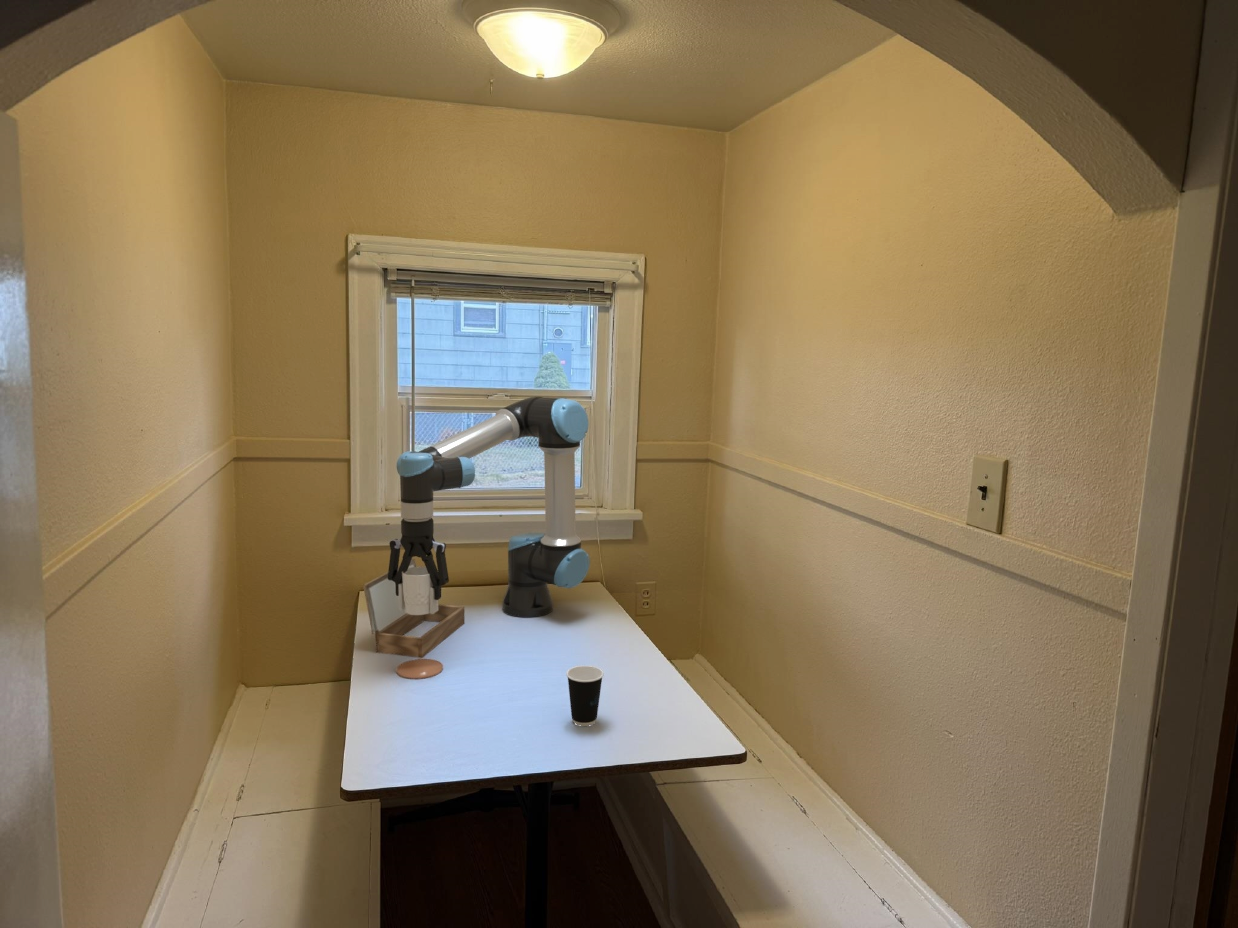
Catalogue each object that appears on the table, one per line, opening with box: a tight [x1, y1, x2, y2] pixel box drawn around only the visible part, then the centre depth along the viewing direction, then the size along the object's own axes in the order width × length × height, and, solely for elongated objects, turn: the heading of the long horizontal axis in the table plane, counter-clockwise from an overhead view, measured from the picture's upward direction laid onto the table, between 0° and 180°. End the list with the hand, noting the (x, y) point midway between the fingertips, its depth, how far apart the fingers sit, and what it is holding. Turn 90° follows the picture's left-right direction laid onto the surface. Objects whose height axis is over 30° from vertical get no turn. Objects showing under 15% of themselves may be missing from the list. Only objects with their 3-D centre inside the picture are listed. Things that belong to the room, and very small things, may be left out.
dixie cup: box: [565, 665, 605, 727], centre depth 169 cm, size 8×8×11 cm
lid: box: [362, 558, 417, 635], centre depth 216 cm, size 13×26×1 cm
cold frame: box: [374, 603, 466, 659], centre depth 215 cm, size 13×26×6 cm, turn 167°
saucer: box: [396, 658, 444, 680], centre depth 194 cm, size 11×11×1 cm
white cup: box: [402, 566, 433, 615], centre depth 192 cm, size 8×8×10 cm
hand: (418, 610), depth 192 cm, fingers closed on white cup, 8 cm apart
